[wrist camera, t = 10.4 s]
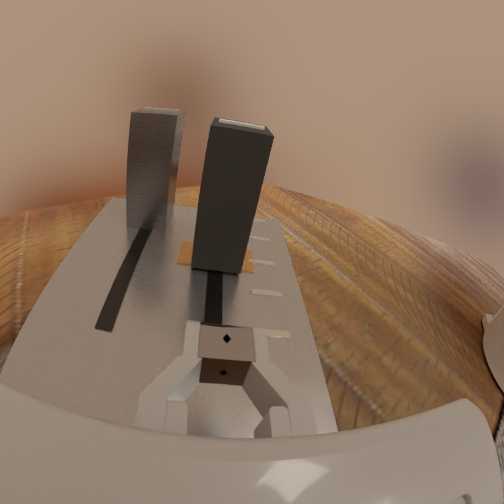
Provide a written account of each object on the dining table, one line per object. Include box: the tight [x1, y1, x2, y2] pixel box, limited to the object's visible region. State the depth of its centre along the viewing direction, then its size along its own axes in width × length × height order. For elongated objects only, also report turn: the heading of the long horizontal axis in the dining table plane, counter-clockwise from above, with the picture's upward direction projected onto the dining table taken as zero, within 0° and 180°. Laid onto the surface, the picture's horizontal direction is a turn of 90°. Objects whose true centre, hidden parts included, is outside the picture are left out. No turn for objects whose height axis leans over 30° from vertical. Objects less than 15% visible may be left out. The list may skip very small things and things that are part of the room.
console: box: [0, 107, 338, 438], centre depth 19 cm, size 20×28×13 cm
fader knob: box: [191, 117, 274, 274], centre depth 21 cm, size 4×4×11 cm
